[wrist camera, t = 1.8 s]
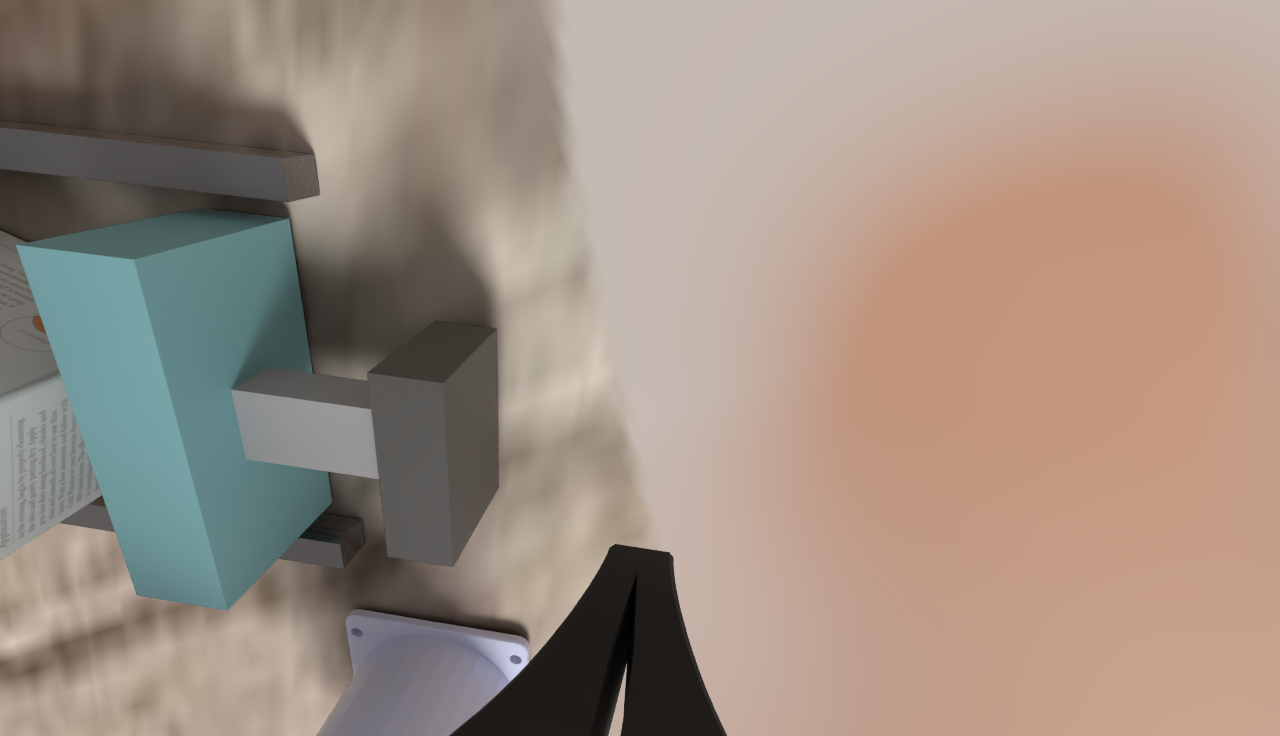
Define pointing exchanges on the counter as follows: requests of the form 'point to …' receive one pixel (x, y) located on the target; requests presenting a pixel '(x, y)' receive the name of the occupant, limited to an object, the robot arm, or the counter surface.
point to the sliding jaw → (250, 404)
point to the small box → (34, 419)
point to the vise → (191, 171)
